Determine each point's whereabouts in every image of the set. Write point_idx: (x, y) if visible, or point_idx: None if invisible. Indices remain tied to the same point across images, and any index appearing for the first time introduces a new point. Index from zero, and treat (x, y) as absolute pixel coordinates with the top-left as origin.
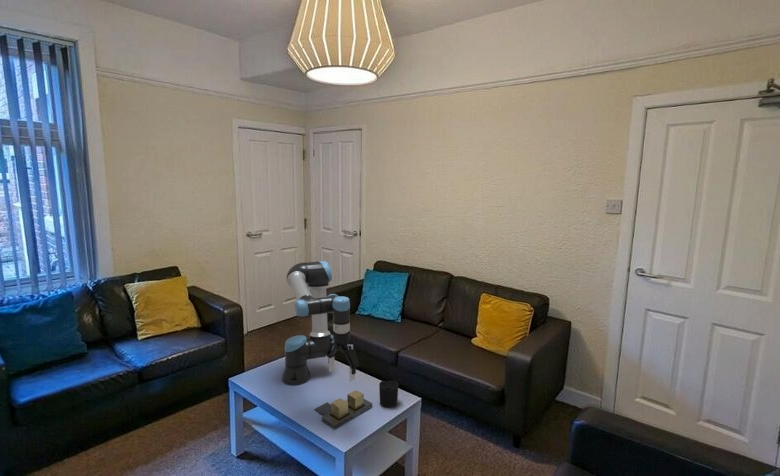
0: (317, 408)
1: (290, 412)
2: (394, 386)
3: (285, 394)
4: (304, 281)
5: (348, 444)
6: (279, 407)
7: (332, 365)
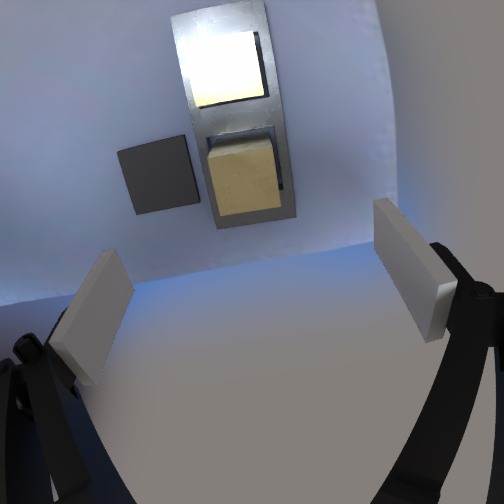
0: (138, 203)
1: None
2: None
3: (21, 250)
4: None
5: None
6: None
7: (108, 302)
